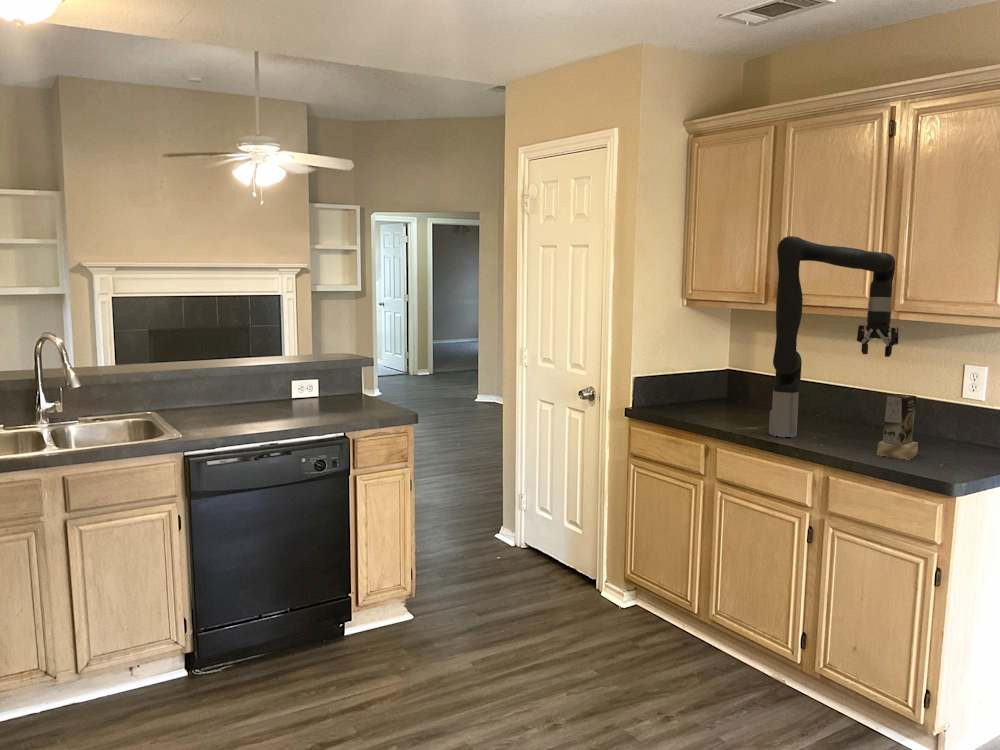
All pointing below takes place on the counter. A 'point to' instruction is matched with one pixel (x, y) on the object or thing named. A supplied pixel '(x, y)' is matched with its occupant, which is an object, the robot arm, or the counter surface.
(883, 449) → the maple block
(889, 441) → the coffee box
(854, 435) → the counter surface
